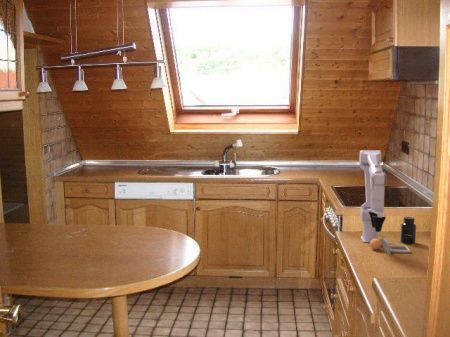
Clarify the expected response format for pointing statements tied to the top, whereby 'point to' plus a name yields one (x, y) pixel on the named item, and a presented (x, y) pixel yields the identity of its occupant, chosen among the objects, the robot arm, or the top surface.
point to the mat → (400, 249)
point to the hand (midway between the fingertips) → (376, 229)
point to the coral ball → (375, 244)
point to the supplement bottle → (408, 231)
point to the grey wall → (386, 245)
